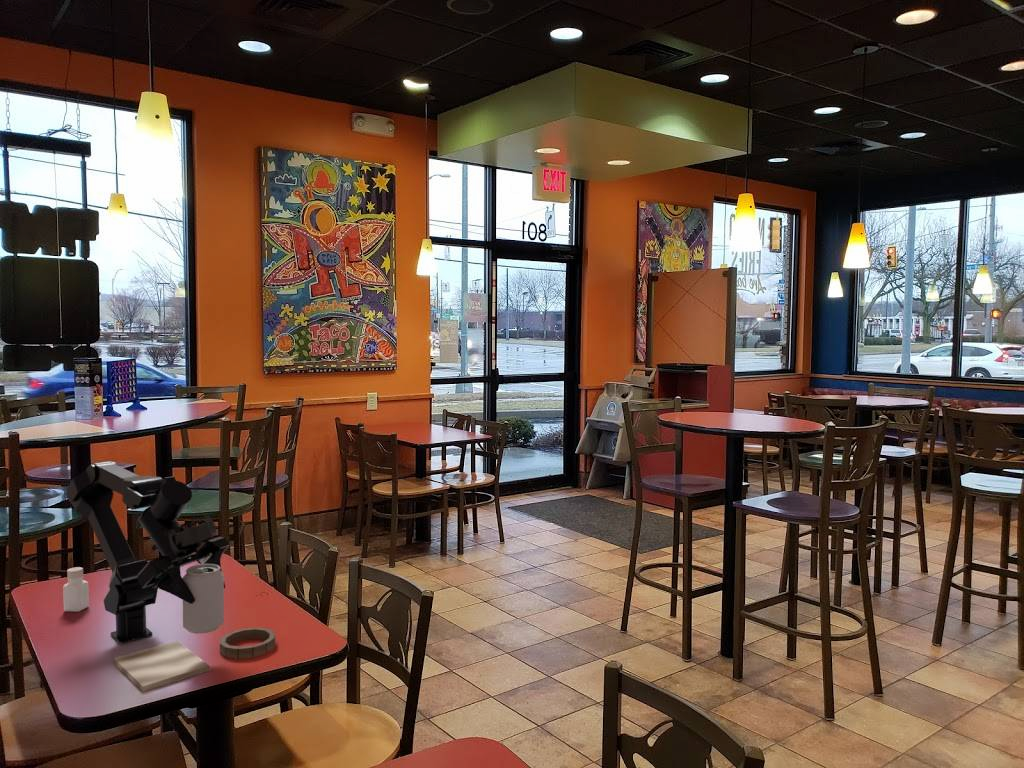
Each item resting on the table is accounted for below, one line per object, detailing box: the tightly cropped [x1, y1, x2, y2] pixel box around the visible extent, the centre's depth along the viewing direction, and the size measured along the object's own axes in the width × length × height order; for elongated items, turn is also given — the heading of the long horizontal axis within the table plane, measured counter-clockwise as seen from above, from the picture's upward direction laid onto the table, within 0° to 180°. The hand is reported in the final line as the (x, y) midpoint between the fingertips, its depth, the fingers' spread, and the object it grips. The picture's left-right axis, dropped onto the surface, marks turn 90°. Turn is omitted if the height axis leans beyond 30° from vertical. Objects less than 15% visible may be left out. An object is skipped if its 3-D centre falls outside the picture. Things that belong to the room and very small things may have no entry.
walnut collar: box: [219, 627, 276, 660], centre depth 153 cm, size 10×10×2 cm
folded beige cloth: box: [113, 640, 210, 692], centre depth 144 cm, size 16×12×1 cm
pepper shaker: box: [62, 566, 90, 613], centre depth 174 cm, size 4×4×10 cm
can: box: [182, 564, 225, 635], centre depth 147 cm, size 8×8×12 cm
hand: (208, 595), depth 146 cm, fingers closed on can, 7 cm apart
